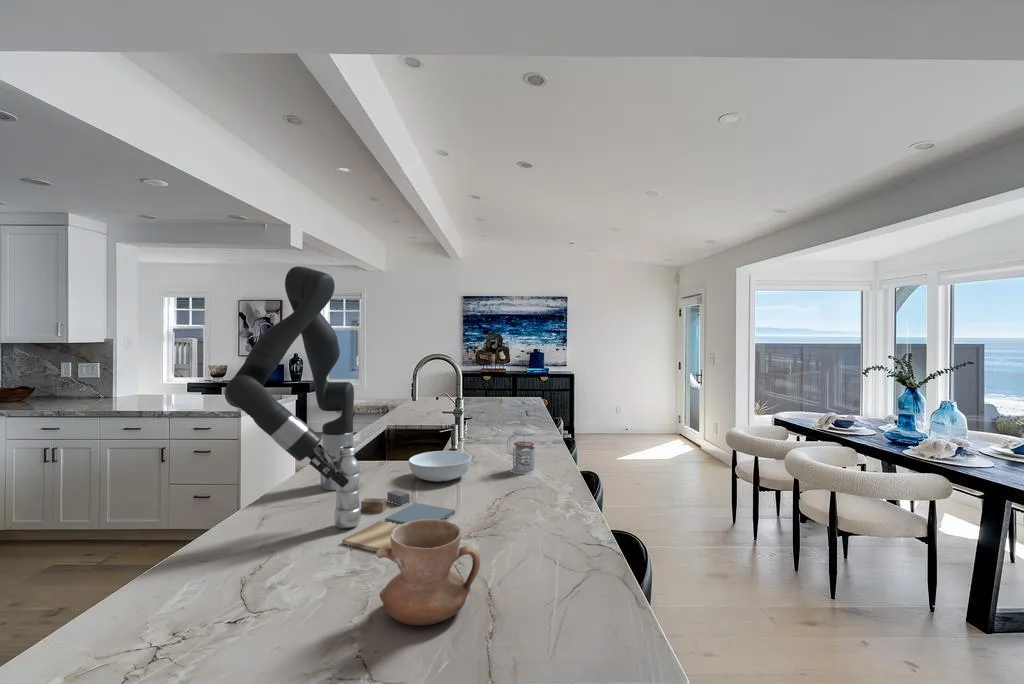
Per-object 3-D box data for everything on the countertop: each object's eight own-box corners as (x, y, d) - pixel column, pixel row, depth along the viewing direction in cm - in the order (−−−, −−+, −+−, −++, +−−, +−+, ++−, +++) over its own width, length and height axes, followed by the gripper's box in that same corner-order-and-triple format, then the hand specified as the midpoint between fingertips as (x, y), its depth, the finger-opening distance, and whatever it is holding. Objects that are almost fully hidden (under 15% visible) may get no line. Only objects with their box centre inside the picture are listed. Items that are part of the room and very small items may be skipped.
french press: (528, 476, 172) (528, 403, 171) (500, 471, 178) (500, 400, 177) (542, 469, 180) (542, 399, 179) (515, 465, 186) (515, 397, 186)
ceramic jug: (367, 638, 81) (369, 550, 80) (382, 591, 95) (383, 516, 95) (480, 634, 82) (482, 548, 82) (478, 588, 97) (479, 515, 96)
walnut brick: (361, 512, 138) (361, 501, 138) (365, 508, 141) (365, 498, 141) (382, 513, 137) (382, 502, 137) (386, 509, 140) (386, 498, 140)
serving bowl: (420, 468, 182) (420, 449, 182) (477, 470, 179) (477, 451, 179) (399, 486, 161) (399, 464, 161) (463, 488, 158) (463, 467, 158)
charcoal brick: (387, 502, 146) (387, 492, 146) (395, 499, 148) (395, 489, 148) (401, 506, 142) (401, 496, 142) (409, 504, 145) (409, 493, 145)
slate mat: (385, 522, 130) (385, 518, 130) (415, 506, 142) (415, 502, 142) (426, 530, 125) (426, 526, 125) (454, 513, 136) (454, 509, 136)
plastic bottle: (366, 523, 129) (366, 445, 129) (349, 533, 123) (349, 451, 123) (345, 520, 132) (345, 443, 131) (328, 529, 125) (327, 449, 125)
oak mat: (342, 543, 117) (342, 539, 117) (379, 524, 128) (379, 520, 128) (386, 554, 111) (386, 550, 111) (421, 533, 123) (421, 529, 123)
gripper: (305, 431, 117) (357, 475, 121) (309, 421, 131) (355, 461, 134) (281, 455, 115) (334, 500, 119) (287, 443, 129) (335, 483, 133)
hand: (345, 479), depth 127 cm, fingers open, 8 cm apart
